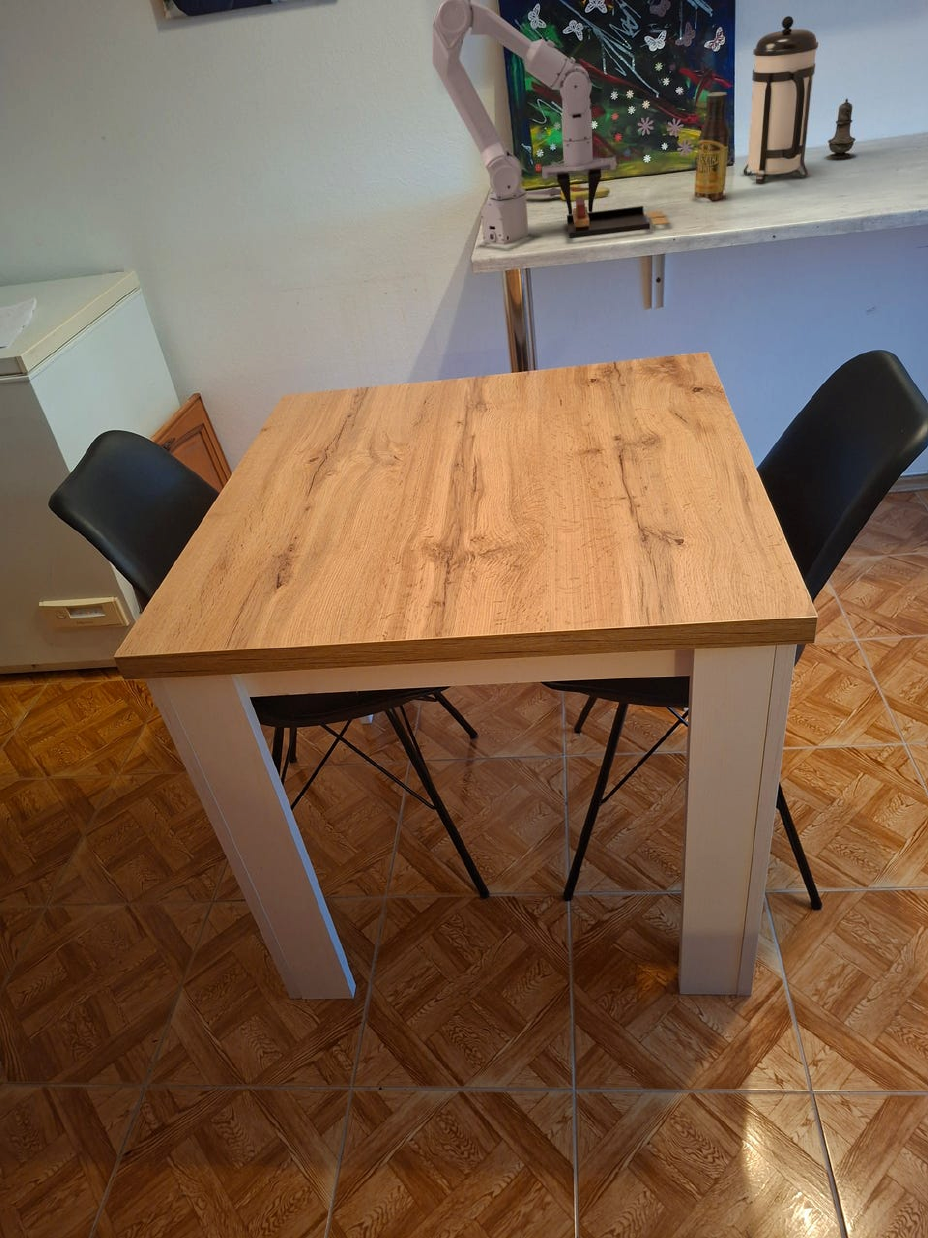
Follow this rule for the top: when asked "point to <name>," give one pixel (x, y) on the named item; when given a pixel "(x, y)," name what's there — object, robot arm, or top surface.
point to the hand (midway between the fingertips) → (580, 212)
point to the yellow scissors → (574, 192)
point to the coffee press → (781, 101)
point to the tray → (611, 222)
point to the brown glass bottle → (712, 149)
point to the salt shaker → (842, 134)
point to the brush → (580, 215)
